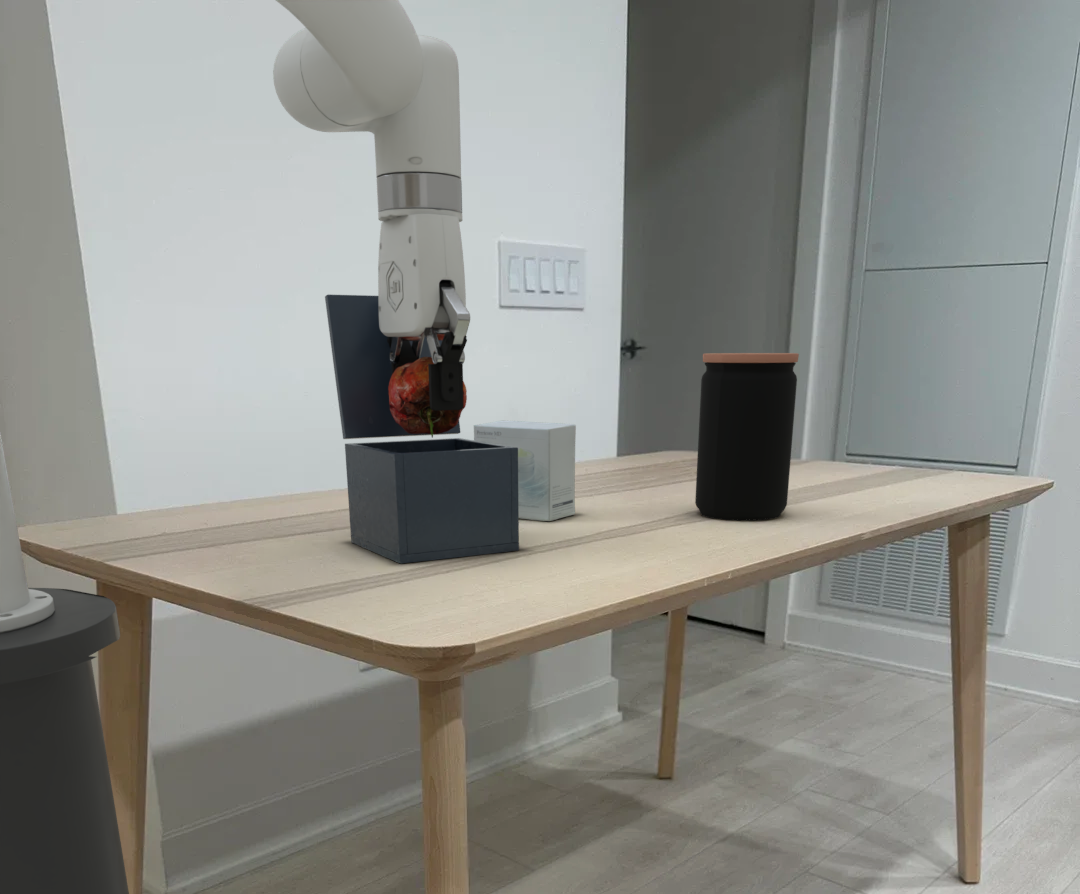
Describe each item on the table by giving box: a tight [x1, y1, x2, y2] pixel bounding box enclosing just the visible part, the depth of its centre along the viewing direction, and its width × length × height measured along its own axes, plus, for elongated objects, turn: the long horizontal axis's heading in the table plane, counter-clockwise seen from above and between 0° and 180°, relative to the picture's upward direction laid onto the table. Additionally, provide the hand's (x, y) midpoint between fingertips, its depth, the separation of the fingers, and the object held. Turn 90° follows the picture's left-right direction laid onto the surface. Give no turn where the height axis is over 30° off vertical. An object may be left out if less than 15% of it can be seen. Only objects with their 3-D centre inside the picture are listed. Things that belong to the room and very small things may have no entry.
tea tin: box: [344, 437, 520, 565], centre depth 100 cm, size 13×13×10 cm
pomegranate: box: [388, 357, 468, 439], centre depth 96 cm, size 7×7×10 cm
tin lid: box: [324, 294, 461, 440], centre depth 102 cm, size 13×13×1 cm
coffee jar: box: [694, 352, 800, 522], centre depth 117 cm, size 11×11×18 cm
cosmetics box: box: [473, 420, 577, 522], centre depth 119 cm, size 10×6×10 cm, turn 58°
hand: (427, 406), depth 97 cm, fingers closed on pomegranate, 7 cm apart
